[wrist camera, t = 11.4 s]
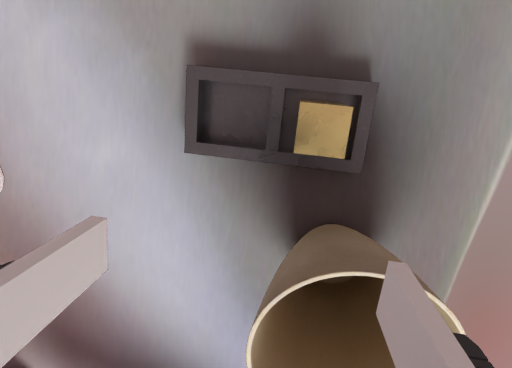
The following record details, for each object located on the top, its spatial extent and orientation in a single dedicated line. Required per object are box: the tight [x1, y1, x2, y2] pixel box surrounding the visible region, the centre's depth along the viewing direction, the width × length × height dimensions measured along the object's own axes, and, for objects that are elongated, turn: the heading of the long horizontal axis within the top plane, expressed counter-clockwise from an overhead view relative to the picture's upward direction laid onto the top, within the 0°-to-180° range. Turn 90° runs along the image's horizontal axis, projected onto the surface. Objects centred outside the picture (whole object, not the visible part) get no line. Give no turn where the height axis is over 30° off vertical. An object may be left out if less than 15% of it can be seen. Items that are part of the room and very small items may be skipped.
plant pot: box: [246, 224, 466, 368], centre depth 30 cm, size 15×15×16 cm
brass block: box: [294, 98, 353, 159], centre depth 29 cm, size 4×4×8 cm
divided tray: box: [184, 65, 379, 174], centre depth 32 cm, size 8×18×3 cm, turn 85°
